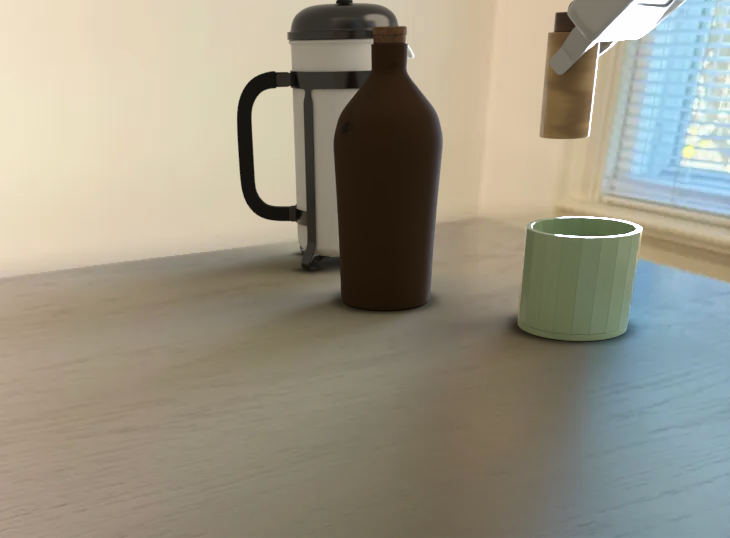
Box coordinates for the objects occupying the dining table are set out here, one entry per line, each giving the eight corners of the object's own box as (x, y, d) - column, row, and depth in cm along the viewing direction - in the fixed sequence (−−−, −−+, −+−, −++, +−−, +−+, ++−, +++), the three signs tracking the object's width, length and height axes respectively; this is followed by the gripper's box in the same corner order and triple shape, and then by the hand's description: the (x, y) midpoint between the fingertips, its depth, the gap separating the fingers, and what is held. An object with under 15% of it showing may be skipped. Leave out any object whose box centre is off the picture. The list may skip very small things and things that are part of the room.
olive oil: (413, 317, 88) (422, 25, 75) (318, 306, 92) (311, 27, 79) (450, 292, 96) (463, 25, 83) (360, 283, 100) (361, 27, 88)
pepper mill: (585, 133, 89) (600, -1, 84) (592, 138, 85) (608, -3, 80) (537, 134, 90) (548, 0, 84) (541, 139, 86) (554, -1, 80)
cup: (616, 311, 88) (630, 216, 84) (636, 342, 79) (653, 237, 75) (513, 310, 89) (521, 216, 85) (522, 340, 80) (531, 237, 76)
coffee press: (342, 242, 120) (340, -19, 105) (431, 259, 110) (442, -28, 95) (241, 263, 110) (223, -23, 95) (328, 284, 100) (323, -32, 85)
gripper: (693, -39, 68) (554, 101, 77) (729, -28, 84) (610, 88, 93) (642, -105, 68) (508, 43, 77) (688, -82, 83) (572, 39, 92)
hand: (564, 68), depth 85 cm, fingers closed on pepper mill, 5 cm apart
